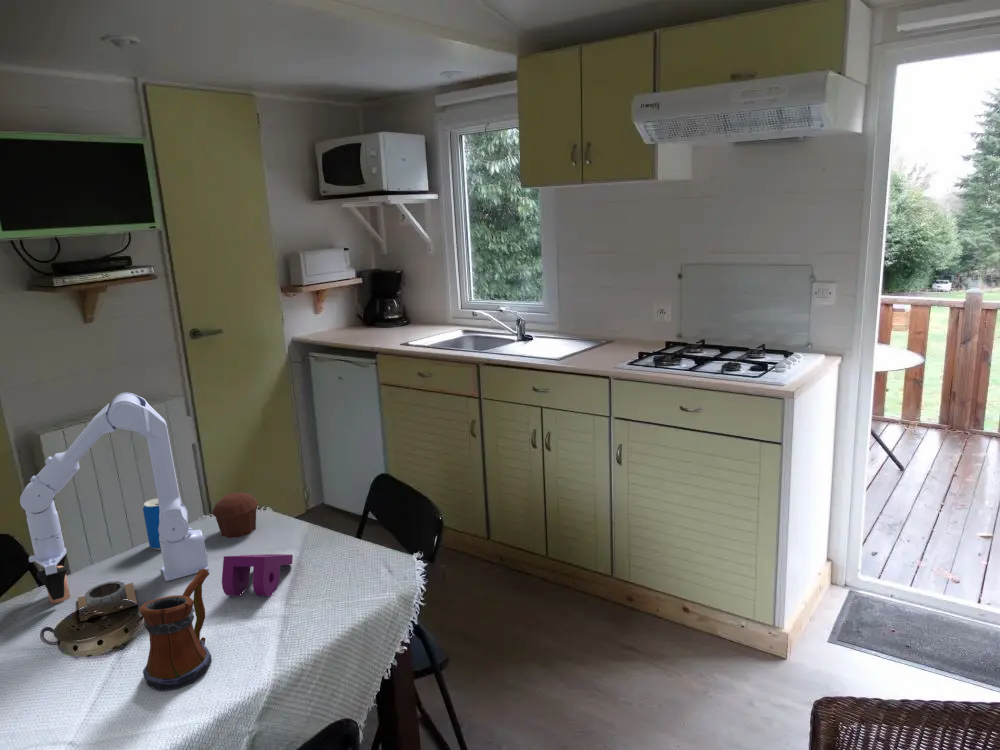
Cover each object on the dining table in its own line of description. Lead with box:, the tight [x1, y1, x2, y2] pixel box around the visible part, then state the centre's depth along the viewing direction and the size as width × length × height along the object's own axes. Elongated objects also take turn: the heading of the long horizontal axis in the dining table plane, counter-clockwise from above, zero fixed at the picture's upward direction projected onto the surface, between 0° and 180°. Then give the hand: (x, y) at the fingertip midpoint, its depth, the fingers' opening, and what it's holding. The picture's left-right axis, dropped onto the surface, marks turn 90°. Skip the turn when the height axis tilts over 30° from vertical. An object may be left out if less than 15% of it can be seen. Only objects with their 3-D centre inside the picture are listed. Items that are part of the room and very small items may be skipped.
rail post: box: [46, 565, 71, 604], centre depth 160 cm, size 4×4×7 cm
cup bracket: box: [77, 580, 138, 609], centre depth 157 cm, size 11×11×3 cm
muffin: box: [211, 491, 259, 539], centre depth 190 cm, size 12×11×10 cm
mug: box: [138, 569, 213, 692], centre depth 133 cm, size 18×12×15 cm, turn 171°
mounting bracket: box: [221, 553, 294, 597], centre depth 162 cm, size 9×8×18 cm
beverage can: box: [142, 497, 161, 551], centre depth 183 cm, size 6×6×12 cm
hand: (58, 590), depth 160 cm, fingers open, 7 cm apart
